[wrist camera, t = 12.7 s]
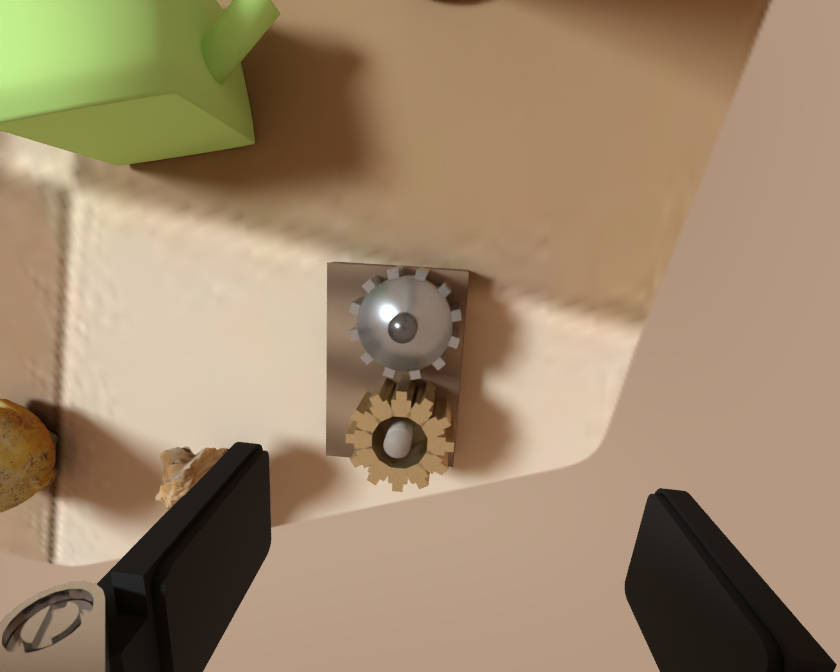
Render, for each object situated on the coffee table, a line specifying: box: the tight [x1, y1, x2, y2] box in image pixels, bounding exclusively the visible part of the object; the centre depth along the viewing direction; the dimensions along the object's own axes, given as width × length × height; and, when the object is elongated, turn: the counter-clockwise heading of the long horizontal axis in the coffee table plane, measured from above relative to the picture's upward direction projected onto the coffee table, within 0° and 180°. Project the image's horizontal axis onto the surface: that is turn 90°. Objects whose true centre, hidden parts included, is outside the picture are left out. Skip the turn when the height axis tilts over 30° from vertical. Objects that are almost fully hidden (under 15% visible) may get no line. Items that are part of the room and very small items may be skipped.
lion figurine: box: [155, 447, 228, 510], centre depth 32 cm, size 15×5×9 cm, turn 156°
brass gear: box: [346, 375, 454, 492], centre depth 30 cm, size 7×7×4 cm
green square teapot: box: [0, 0, 280, 165], centre depth 25 cm, size 18×10×10 cm, turn 97°
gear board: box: [326, 262, 469, 467], centre depth 30 cm, size 15×10×6 cm, turn 177°
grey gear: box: [349, 265, 462, 380], centre depth 28 cm, size 7×7×4 cm
